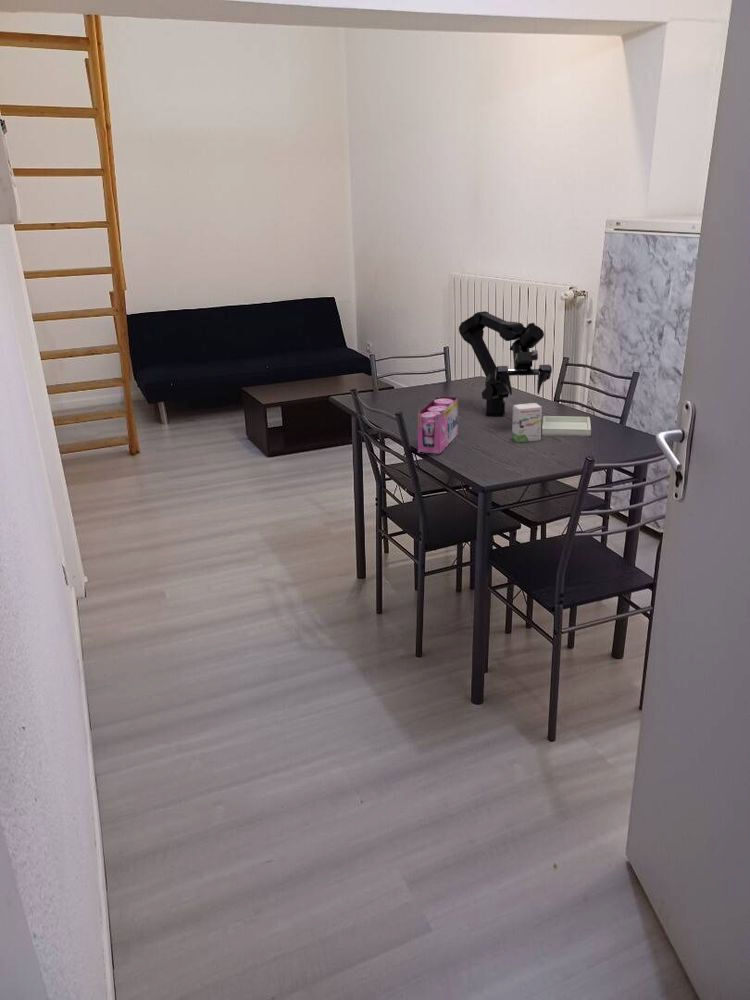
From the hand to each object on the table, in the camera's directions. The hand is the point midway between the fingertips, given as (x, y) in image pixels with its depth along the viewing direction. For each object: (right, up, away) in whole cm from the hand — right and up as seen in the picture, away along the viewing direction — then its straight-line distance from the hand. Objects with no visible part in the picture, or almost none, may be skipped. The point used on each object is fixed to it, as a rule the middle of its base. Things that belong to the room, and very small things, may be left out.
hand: (524, 394), depth 257 cm
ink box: (0, -16, -2) cm, 16 cm away
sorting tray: (+16, -11, +6) cm, 20 cm away
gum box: (-30, -17, -3) cm, 34 cm away
